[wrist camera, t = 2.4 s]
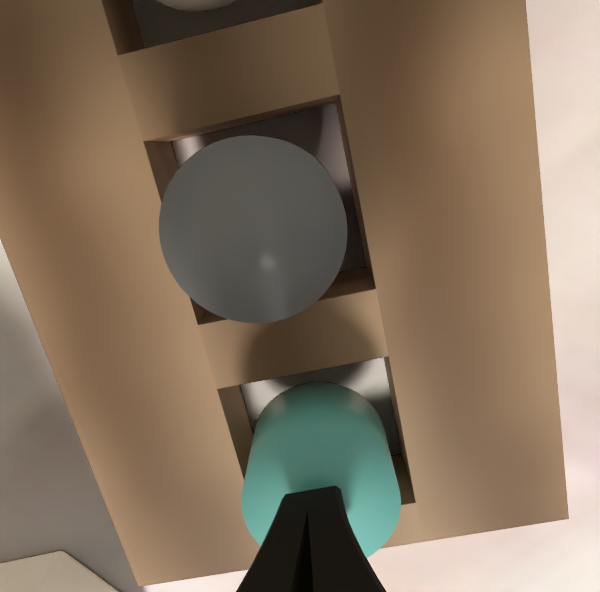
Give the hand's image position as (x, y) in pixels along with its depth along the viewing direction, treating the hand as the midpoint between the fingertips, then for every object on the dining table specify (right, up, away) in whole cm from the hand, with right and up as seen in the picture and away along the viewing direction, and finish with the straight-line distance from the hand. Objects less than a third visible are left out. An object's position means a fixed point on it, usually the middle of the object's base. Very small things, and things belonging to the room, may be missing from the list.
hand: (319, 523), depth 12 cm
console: (-1, +8, +3) cm, 9 cm away
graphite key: (-1, +7, +1) cm, 8 cm away
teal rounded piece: (0, +1, +3) cm, 3 cm away
